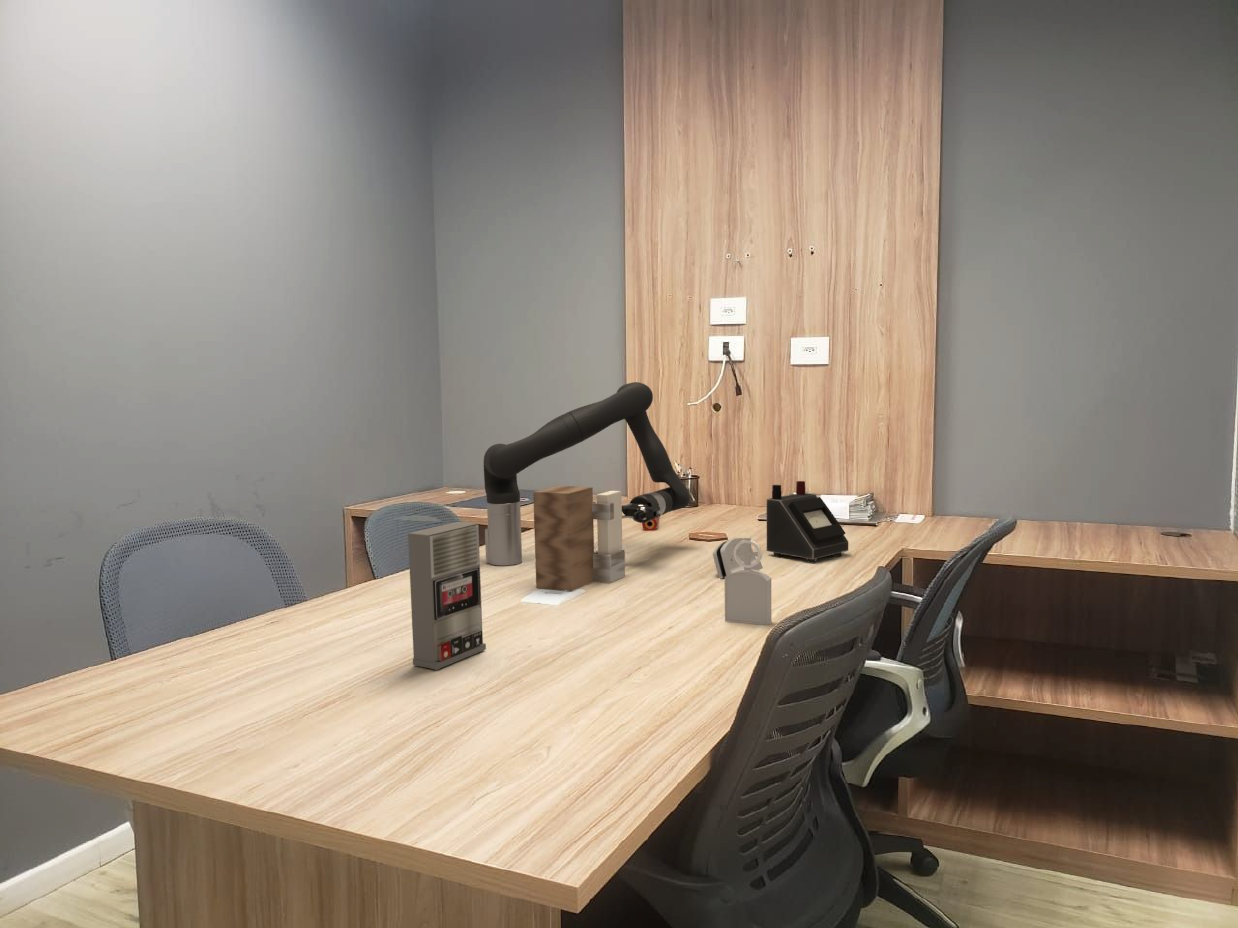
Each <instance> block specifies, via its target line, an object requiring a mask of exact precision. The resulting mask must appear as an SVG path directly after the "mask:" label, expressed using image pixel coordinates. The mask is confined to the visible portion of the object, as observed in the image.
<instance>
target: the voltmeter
mask: <svg viewBox="0 0 1238 928" xmlns="http://www.w3.org/2000/svg"><path fill="white" fill-rule="evenodd" d="M771 489H772V491H771V497H769V498H766V552H771V553H773V557H781V556H782V555H786V556H787V555H788V556H793V557H799V558H805V559H806V560H807V562H808V563H811V564H813V563H816V562H817V559H819V558H823V557H828V556H831V555H833V556H834V557H841V556H842V553H844V552H847V551H849V540H848V539H847V537H846V536H845V534H846V531H845V529H843V527H842V526H841V524H840V522H839V521H838V519H837V518H836V517H835V515H834V514H833V513H832V511H831V510H830V509H829V507H828V506H827V505H826V503H825V502H824V500H823V499H822V498H821V496H817V494H815V493H806V481H805V480H804V481H803V480H797V481H796V487H795V493H794V494H787V495H783V496H782V484H772V488H771Z"/></svg>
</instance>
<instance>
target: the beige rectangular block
mask: <svg viewBox="0 0 1238 928" xmlns="http://www.w3.org/2000/svg"><path fill="white" fill-rule="evenodd" d="M596 503H599V504H609V503H614V519H612V520H597V519H596V523H597V525H596V527H597V529H596V531H597V551H598V554H602V555H610V554H613V553H615V552H618V551H620V550H623V518H622V516H623V512H622V505H623V504H622V491H621V490H609V491H605V492H602V493H597V494H596Z"/></svg>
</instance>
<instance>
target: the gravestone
mask: <svg viewBox="0 0 1238 928" xmlns="http://www.w3.org/2000/svg"><path fill="white" fill-rule="evenodd" d="M743 538H744V540H742V541H740V542H739V543H738V544H737V545H736V546H735V548H734V558H735V560H736V562H737V563H738V564H739V565H740V566H742V567H744V569H740V570H736V571H734V572H732V573H730V574H729V575H727V576H726V577H724V622H732V621H733V623H744V624H751V623H752V625H753V624H754V625H761V624H765V625H764V626H769V625H770V624H771V623H772V577H770V575H768V574H767V573H765V572H763V571H760V570H753V569H751V567H753V566H755V565H757V564H758V563H759V562H761V560H762V557H763V556H762V555H763V550H762V548H761V546H760V545H759V543H757V541H754V540H752V537H751V536H745V537H743ZM743 543H744V551H738V548H739V546H740V545H741V544H743ZM752 546H753V547H754V548H755V550H756V551H754V550H753V551H751V548H752ZM738 555H742V556H744V562H742V561H741V560H740V558H739V556H738ZM751 556H755V558H756V559H757V560H756V562H755V563H753V564H751Z"/></svg>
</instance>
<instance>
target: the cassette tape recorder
mask: <svg viewBox="0 0 1238 928" xmlns="http://www.w3.org/2000/svg"><path fill="white" fill-rule="evenodd" d="M479 528H480V527H479V523H475V522H464V521H456V522H451V523H447V524H443V525H439V526H433V527H429V528H426V529H425V528H424V529H420V530H416V531H411V532H408V533H407V539H408V544H407V545H408V558H409V559H408V560H409V581H410V582H409V583H410V585H409V586H410V588H409V589H410V602H411V604H410V606H411V627H412V628H411V630H412V631H411V632H412V649H413V650H412V651H413V652H412V653H413V654H412V655H413V658H412V666H416V667H421V668H427V669H431V670H433V671H440V669H442V668H444V667H446V666H449V665H452V664H454V663H456V662H458V661H461V660H464V659H467V658H469V657H470V656H474V655H475V654H478V653H480V652H481V653H482V652H484V651H485V650H487V645H486V644H487V643H484V641H483V613H482V611H483V610H482V585H481V581H482V580H481V560H480V559H481V557H480V533H479V532H480V531H479Z"/></svg>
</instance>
